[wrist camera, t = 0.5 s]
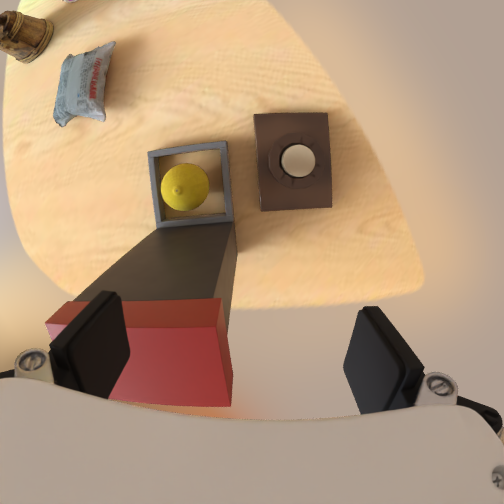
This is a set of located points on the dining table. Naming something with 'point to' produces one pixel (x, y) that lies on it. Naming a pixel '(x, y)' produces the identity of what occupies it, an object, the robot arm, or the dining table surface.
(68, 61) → the packaged food
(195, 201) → the lemon
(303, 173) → the button
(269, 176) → the block
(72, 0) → the supplement bottle
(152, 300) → the stand
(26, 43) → the wooden mug
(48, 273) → the dining table surface
